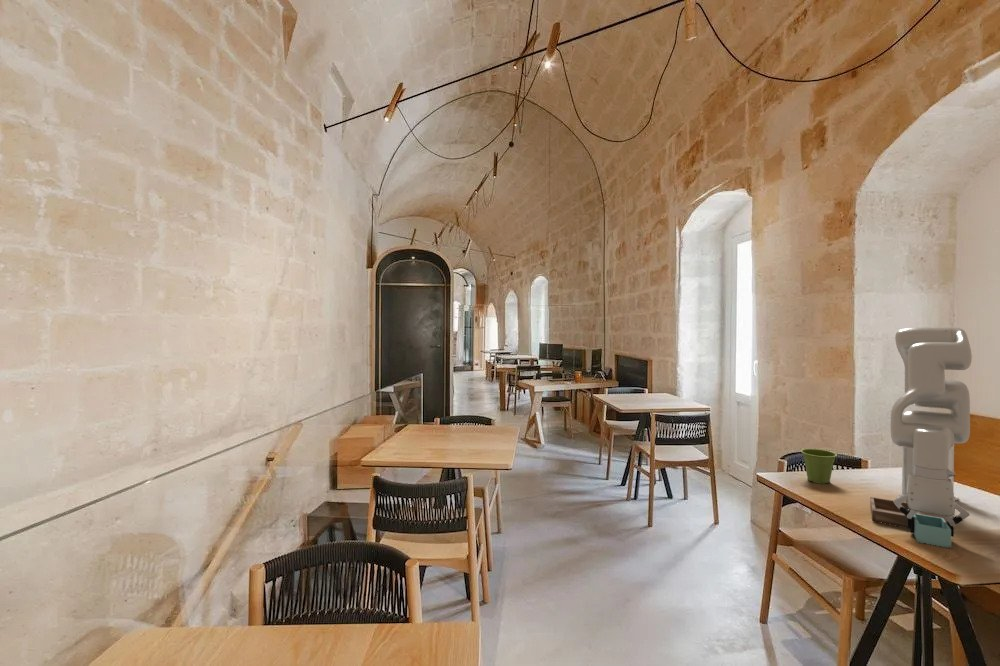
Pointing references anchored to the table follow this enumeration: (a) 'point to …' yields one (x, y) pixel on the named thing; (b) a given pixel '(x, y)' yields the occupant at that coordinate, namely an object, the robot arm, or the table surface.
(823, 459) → the plant pot
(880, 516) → the walnut crate
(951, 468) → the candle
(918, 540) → the teal crate
